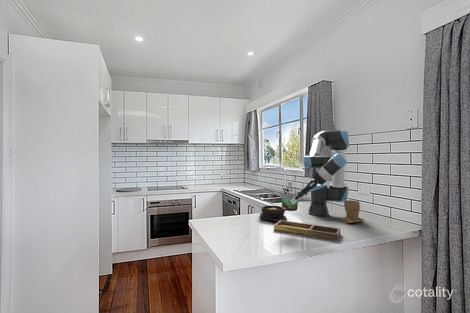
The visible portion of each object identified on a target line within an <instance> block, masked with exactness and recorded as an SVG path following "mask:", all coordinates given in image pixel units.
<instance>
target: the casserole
mask: <svg viewBox="0 0 470 313" xmlns="http://www.w3.org/2000/svg"><path fill="white" fill-rule="evenodd" d="M260 211H261V212H260V213H259V218H261V219H263V220H265V221H268V220H269V221H270V222H279V221H280V220H283V221H288V218H287V216H286V215H285V212H286V211H285V210H282V206H279V205H264V206H262V208H261V210H260Z"/></svg>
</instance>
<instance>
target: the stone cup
mask: <svg viewBox="0 0 470 313" xmlns="http://www.w3.org/2000/svg"><path fill="white" fill-rule="evenodd" d="M360 204H361V203H360V201H359V200H351V199H350V200H349V199H347V200H345V201H344V202H343V206H344V210H345V213H346V214H345V215H346V216H344V217H341V221H342V222H344V223H345V224H353V223H360V222H364V221H365V219H363V218H360V217H359V214H360V210H361V205H360Z"/></svg>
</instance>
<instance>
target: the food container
mask: <svg viewBox="0 0 470 313" xmlns="http://www.w3.org/2000/svg"><path fill="white" fill-rule="evenodd" d="M298 193H299V192H298ZM298 193H283V192H282V193H280V195H279V196H280V198H281V207H282V210H285V212H297V211H298V206H299V201H297V202H296V203H294V204H292V203H291V202H290V200H292V199H293V198H294V197H295V196H296V195H297V194H298Z"/></svg>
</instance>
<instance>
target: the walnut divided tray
mask: <svg viewBox="0 0 470 313" xmlns="http://www.w3.org/2000/svg"><path fill="white" fill-rule="evenodd" d="M273 231H274V232H279V233H280V232H281V233H285V234H292V235H299V236H305V237H309V238H317V239H321V240H322V239H323V240H328V241H336V242H338V241H339V239H340V237H341V228H340V227H332V226H325V225H318V224H312V223H311V224H309V223H304V222H296V221H290V220H289V221H288V220H286V221H283V220H280V221H277V222H276V223H274V224H273Z"/></svg>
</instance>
